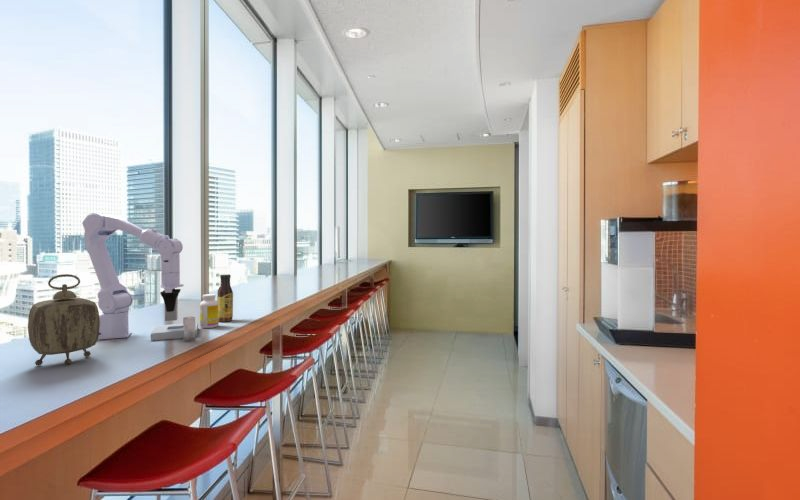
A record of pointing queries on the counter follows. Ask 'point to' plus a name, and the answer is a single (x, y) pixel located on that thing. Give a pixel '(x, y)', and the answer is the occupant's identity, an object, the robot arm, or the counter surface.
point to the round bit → (189, 329)
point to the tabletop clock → (63, 323)
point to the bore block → (170, 331)
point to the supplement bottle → (209, 311)
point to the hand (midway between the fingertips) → (170, 310)
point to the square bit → (172, 313)
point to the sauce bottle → (225, 299)
